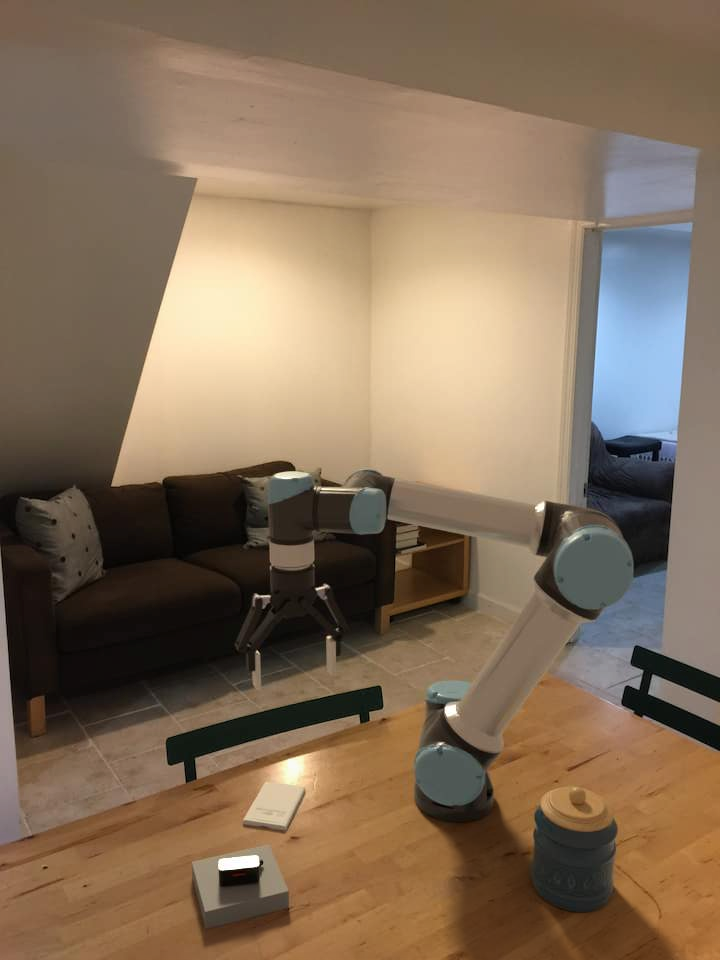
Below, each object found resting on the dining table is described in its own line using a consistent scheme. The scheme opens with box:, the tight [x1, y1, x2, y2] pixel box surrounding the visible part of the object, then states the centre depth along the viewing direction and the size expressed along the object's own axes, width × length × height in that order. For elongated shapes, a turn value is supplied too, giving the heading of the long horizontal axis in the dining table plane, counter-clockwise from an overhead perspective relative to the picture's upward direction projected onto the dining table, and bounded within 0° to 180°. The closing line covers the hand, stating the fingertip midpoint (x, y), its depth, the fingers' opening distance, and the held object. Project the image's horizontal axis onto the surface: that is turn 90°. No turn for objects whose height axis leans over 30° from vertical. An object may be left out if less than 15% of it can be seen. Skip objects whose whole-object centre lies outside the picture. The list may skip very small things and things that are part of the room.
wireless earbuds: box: [218, 855, 263, 887], centre depth 130 cm, size 5×7×3 cm, turn 100°
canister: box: [530, 786, 619, 913], centre depth 132 cm, size 13×13×18 cm
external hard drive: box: [242, 781, 306, 831], centre depth 154 cm, size 2×8×12 cm
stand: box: [191, 843, 290, 930], centre depth 131 cm, size 13×12×3 cm
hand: (294, 680), depth 143 cm, fingers open, 13 cm apart
